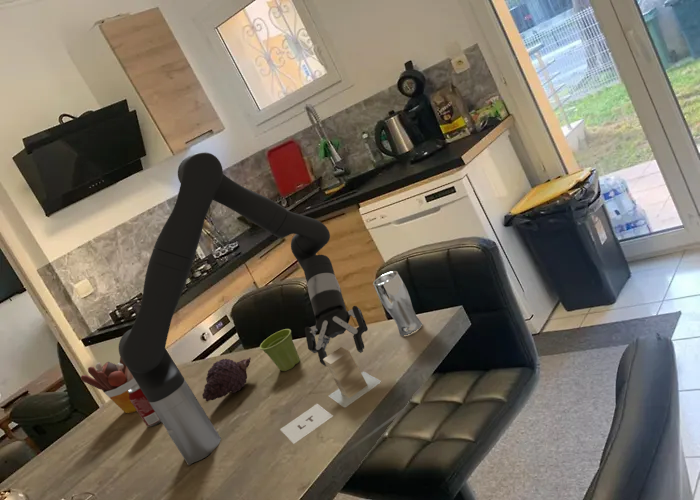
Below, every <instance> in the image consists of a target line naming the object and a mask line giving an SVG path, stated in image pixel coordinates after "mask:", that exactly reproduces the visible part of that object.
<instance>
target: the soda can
mask: <svg viewBox="0 0 700 500" xmlns="http://www.w3.org/2000/svg"><path fill="white" fill-rule="evenodd" d="M128 393H129V399H130V401H131V402H132V404H133V405H134V407H135V408H136V410H137V414H138V415H139V416H140V418H141V419H142V421H143V423H144V424H145V426H147V427H155V426H157V425H159V424H160V423H162V422H161V420H160V419H159V417H158V415H157V414H156V412H155V411H154V409H153V407H152V406H151V404H150V403H149V401H148V400H147V398H146V397H145V395H144V394H143V392H142V390H141V389H140V387H139V385H138V384H135V385H134V386H132V387H131V388H130V389H129V390H128Z"/></svg>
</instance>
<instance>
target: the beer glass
mask: <svg viewBox="0 0 700 500" xmlns="http://www.w3.org/2000/svg"><path fill="white" fill-rule="evenodd" d="M372 284H373V287H374V289H375V291H376V294H377V296H378V298H379V300H380V302H381V304H382V305H383V307H384V308H385V310H386V311H387V312H388V313H389V315H390V317H392V319H393V320H394V322H395V324H396V326H397V329H398V332H399V335H400V336H401V335H402V336H404V335H408V334H411V333H412V332H414V331H416V330H417V329H419V328H420V327H421V325H422V326H423V323H422V321H421V320H420V318H419V317H418V316H417V314H416V312H415V309H414V307H413V304H412V300H411V296H410V294H409V291H408V289H407V287H406V285H405V283H404V281H403V279H402V277H401V276H400V274H399V272H398V271H397V270H393V271H388V272H386V273H384V274H382V275H380V276H379V277H377V278H376V279H375V280H374V281H373V283H372ZM402 336H401V337H402Z"/></svg>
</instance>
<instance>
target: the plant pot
mask: <svg viewBox="0 0 700 500" xmlns="http://www.w3.org/2000/svg"><path fill="white" fill-rule="evenodd" d="M294 343H295V342H294V341H293V336H292V330H291V329H290V328H285V329H281V330H279V331H276V332H275V333H273V334H271V335H270V336H268V337H267V338H266V339H264V340H263V341H262V342H261V343H260V345H259V349H260V350H261V351H263V352H264V353H265V354H266V355H267V356H268V357H269V358H270V360H272V362H273V363H274V364H275V366H276V367H277V369H279V371H282V372H286V371H289V370H291V369H293V368H295V365H297V364H299V362H300V361H301V358H300V356H299V354H298V351H297V348H296V346H295V344H294Z"/></svg>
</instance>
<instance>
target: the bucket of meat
mask: <svg viewBox="0 0 700 500" xmlns="http://www.w3.org/2000/svg"><path fill="white" fill-rule="evenodd" d="M119 357H120V356H119ZM87 372H88V374H90V376H89V375H87V374H82V375H81V376H80V379H81V381H82V382H84V383H86V384H87V385H90V386H91V387H94V388H96V389H97V390H101V391H102V392H103V393H104V394H105V395H106V397H108V398H109V399H110V400H112V402H113V403H115V405H116V406H118V407H119V408H120V410H122V411H123V413H126V414H133V413H136V412H137V410H136V408H135V407H134V405H133V404H132V402H131V401H130V399H129V393H128V390H129V389H130V388H131V387H132V386H134V385H135V384H137V382H136V380H135V379H134V377H133V376H132V374H131V373H130V371H129V369H128V368H127V366H126V365H125V364H124V362H123V361H122V359H121V357H120V358H119V362H118V363H117V364H115V363H114V362H113V363H112V362H110V361H107V362H105V363H104V364H103V365H102V363H101V362H97V363H96V364H95V367H94V366H89V367H88V368H87ZM137 413H138V412H137Z"/></svg>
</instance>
